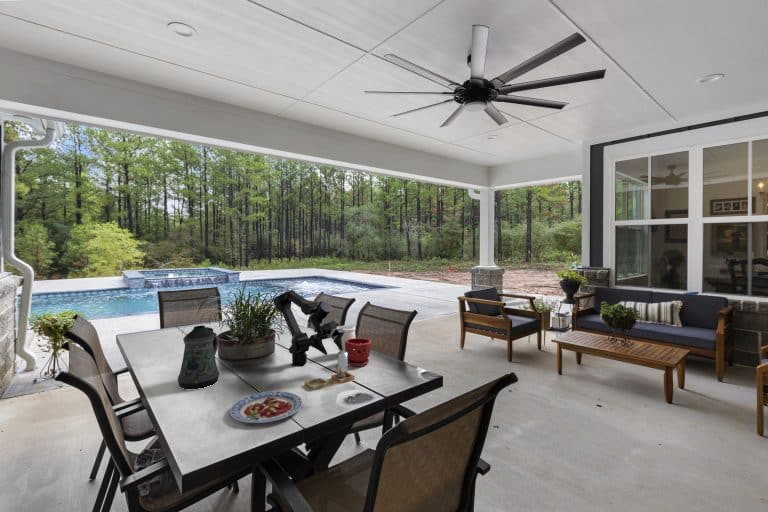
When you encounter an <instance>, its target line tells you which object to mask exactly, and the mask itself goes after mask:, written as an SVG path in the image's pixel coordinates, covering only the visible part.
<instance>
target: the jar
mask: <svg viewBox="0 0 768 512" xmlns="http://www.w3.org/2000/svg"><path fill="white" fill-rule="evenodd" d="M340 328H342V329H343V330H344V332H345V333H344V334H343V336H342V338H341V340H342V347H343V350H342V351H344V352H346V350H345V342H346V340H348V339H353V338H356V332H355V330H356V327H355V326H354V325H340V326H339V325H338V326H337V328H336V329H340ZM337 350H338V352H342V351H341V350H340V349H339V348H338V347H337Z"/></svg>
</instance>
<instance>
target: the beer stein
mask: <svg viewBox="0 0 768 512" xmlns="http://www.w3.org/2000/svg"><path fill="white" fill-rule="evenodd" d="M182 340H183V344H184V350H183V354H182V355H183V356H182V360H181V361H182V362H181V367H180V371H179V375H178V376H177V383H178V386H180V387H181V388H184V389H183V390H185V389H197V390H199V389H198V388H203V389H205V388H204V387H207V386H210V385H213V384H214V385H216V384H217V383H218V382H219V378H220V372H219V369H218V366H217V362H216V361H217V360H216V354H217V351H218V347H219V343H220V341H219V337H218V335H217V333H216V332H214V328H212V327H208V326H207V327H206V325H203V324H202V325H201V324H200V325H196V326H193V329H191V331H190V332H188V333H187V334H186V335H184V337H183V339H182ZM217 381H218V382H217ZM216 382H217V383H216ZM215 383H216V384H215ZM214 385H213V386H214ZM180 387H179V388H180ZM210 387H211V386H210ZM181 388H180V389H181ZM207 388H208V387H207Z"/></svg>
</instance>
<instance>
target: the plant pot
mask: <svg viewBox="0 0 768 512" xmlns="http://www.w3.org/2000/svg"><path fill="white" fill-rule="evenodd" d="M371 349H372V341H371V339H367V338H362V337H361V338H360V337H359V338H358V337H357V338H356V337H355V338H353V339H348V340H346V342H345V350H346V352H347V355H348V365H349V366H352V367H362V366H363V367H364V366H366V365H368V364H369V362H370V359H369V357H370V354H371Z"/></svg>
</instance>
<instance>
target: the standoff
mask: <svg viewBox="0 0 768 512" xmlns="http://www.w3.org/2000/svg"><path fill="white" fill-rule="evenodd" d="M348 365H349V364H348V355H347V352H344V351H342V352H339V351H338V352H337V373H338V378H339V379H343V378H347V377H348V373H349V372H348V371H349V369H348Z"/></svg>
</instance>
